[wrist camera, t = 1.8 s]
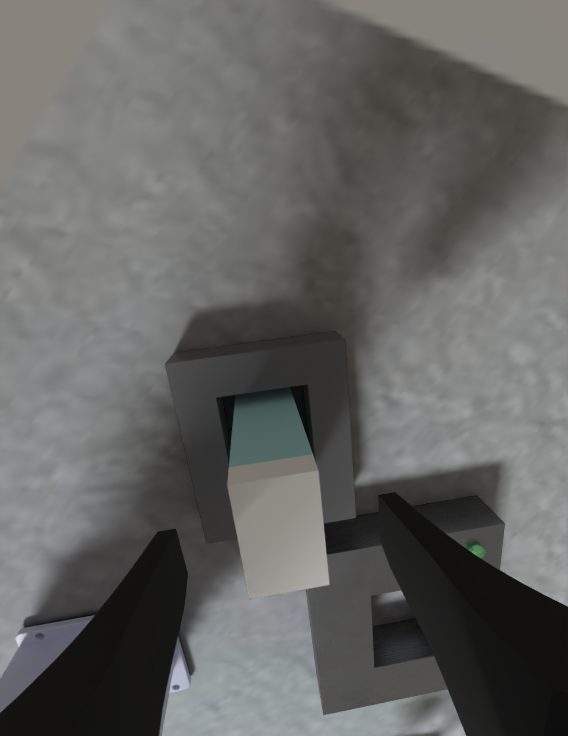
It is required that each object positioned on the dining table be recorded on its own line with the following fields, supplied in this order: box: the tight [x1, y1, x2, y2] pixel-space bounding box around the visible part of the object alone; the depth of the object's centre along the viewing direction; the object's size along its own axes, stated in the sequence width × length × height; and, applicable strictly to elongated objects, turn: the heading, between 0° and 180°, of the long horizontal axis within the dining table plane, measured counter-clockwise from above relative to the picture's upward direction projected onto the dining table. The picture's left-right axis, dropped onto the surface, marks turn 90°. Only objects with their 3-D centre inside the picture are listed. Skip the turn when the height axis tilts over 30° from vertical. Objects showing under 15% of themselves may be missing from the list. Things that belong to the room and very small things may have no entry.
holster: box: [165, 331, 356, 543], centre depth 18 cm, size 8×10×2 cm
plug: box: [227, 387, 329, 599], centre depth 16 cm, size 3×5×8 cm, turn 6°
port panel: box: [306, 496, 505, 715], centre depth 23 cm, size 12×14×3 cm
